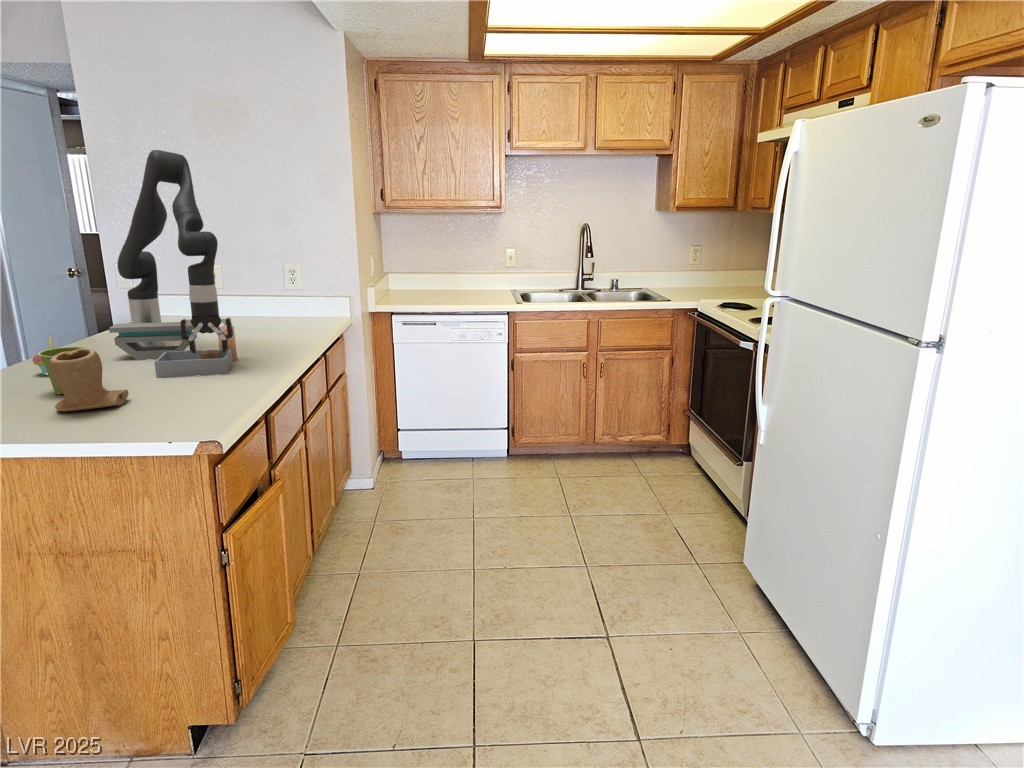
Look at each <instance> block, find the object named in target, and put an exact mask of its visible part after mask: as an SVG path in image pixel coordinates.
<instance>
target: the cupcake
mask: <svg viewBox="0 0 1024 768" xmlns="http://www.w3.org/2000/svg"><path fill="white" fill-rule="evenodd" d="M53 345H54V344H53V337H52V334H50V336H49V349H54V347H53ZM31 362H32V363H33V364H34V365H36V366H37V367H38V368H39V369H40V370H41V372H42V374H43V373H48V372H47V370H46V367H45V364H43V361H42V359H41V357H40V356H38V353H37V354H36V355H34V356H33V357H32V361H31Z"/></svg>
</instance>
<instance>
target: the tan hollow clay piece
mask: <svg viewBox="0 0 1024 768" xmlns="http://www.w3.org/2000/svg"><path fill="white" fill-rule="evenodd" d="M89 348H90V347H87V348H80V349H76V350H74V351H71V352H68V351H66V352H61V353H59V354H57V355H55V356H53V357H52V358H51V359H50V361H49V366H50V370H51V373H52V375H53V378H54V380H55V381H56V383H57V384H58V386H59V387H60V389H61V390H62V392H63V394H64V395H63V399H62V400H59V401H58V402H57V403H56V404H55V406H54V408H55V409H56V410H57V411H58V412H75V411H85V410H94V409H101V408H109V407H110V408H111V407H117V406H121V405H123V404H124V403H125V402H126V400H127V399H128V397H129V389H117V390H107V389H106V388H105V387H103V362H102V360H101V356H100V355H99V354H98V351H96V350H94V349H93V348H90V349H89Z"/></svg>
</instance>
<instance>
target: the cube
mask: <svg viewBox="0 0 1024 768" xmlns="http://www.w3.org/2000/svg"><path fill="white" fill-rule="evenodd" d="M203 350H204V351H202V352H201V353H200V358H201V359H218V358H221V354H220V350H217V349H203Z"/></svg>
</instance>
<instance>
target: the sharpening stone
mask: <svg viewBox="0 0 1024 768" xmlns="http://www.w3.org/2000/svg"><path fill="white" fill-rule="evenodd" d="M108 329H109V330H108V331H109V333H110V334H115V333H116V334H118V335H117V336H115V337H114V338H113V339H114V344H115V346H117V348H119V349H120V350H122V351H124V352H125V353H126V354H128V355H129V356H130V357H132V358H133V359H134V360H136V361H147V360H146V359H153V360H157V359H158V358H159V357H160V356H161V355H162V354H163V353H164V352H171V351H186V349H187V348H188V347H189V341H188V340H185V339H184V340H183V339H182V338H181V321H173V322H172V321H169V322H167V321H166V322H165V321H164V322H163V321H162V322H161V323H130V322H129V323H115V324H113V325H111V326H110V327H108ZM194 330H195V327H194V326H193V325H192V324H191V323H190V324H189V326H188V327H187V335H189V336H190V335H191V334H192V333H193V331H194ZM197 338H198V334H197V335H196V336H195V338H194V340H195V341H196V339H197ZM160 341H164V342H180V344H179V345H163V346H153V347H142V346H141V345H139V344H138V343H137V342H160Z"/></svg>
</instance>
